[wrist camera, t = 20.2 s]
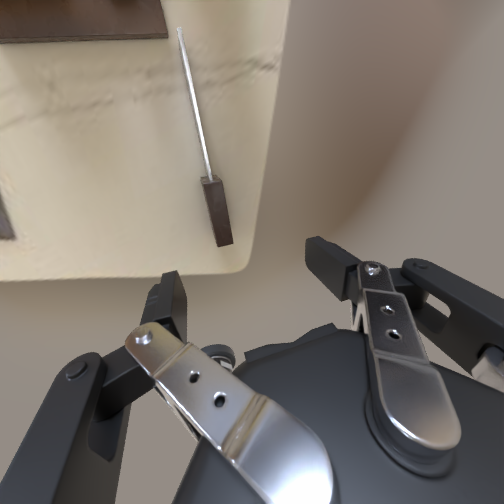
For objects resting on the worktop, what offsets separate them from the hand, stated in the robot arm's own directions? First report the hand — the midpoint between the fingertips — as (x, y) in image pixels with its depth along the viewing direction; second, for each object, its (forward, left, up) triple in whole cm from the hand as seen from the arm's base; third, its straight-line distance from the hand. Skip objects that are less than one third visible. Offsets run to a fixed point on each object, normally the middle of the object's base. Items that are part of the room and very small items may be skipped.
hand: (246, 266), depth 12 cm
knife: (+5, 0, -22) cm, 23 cm away
